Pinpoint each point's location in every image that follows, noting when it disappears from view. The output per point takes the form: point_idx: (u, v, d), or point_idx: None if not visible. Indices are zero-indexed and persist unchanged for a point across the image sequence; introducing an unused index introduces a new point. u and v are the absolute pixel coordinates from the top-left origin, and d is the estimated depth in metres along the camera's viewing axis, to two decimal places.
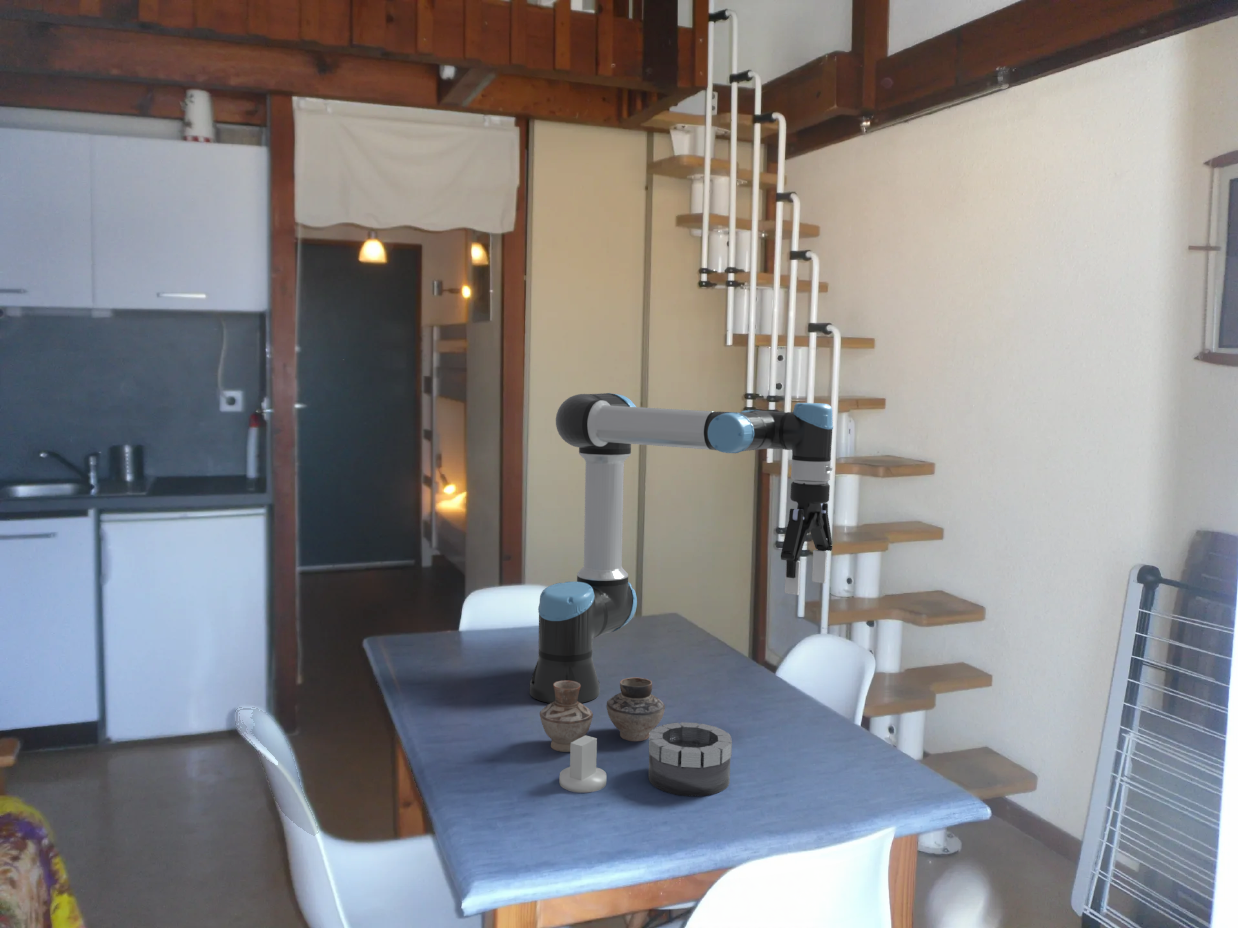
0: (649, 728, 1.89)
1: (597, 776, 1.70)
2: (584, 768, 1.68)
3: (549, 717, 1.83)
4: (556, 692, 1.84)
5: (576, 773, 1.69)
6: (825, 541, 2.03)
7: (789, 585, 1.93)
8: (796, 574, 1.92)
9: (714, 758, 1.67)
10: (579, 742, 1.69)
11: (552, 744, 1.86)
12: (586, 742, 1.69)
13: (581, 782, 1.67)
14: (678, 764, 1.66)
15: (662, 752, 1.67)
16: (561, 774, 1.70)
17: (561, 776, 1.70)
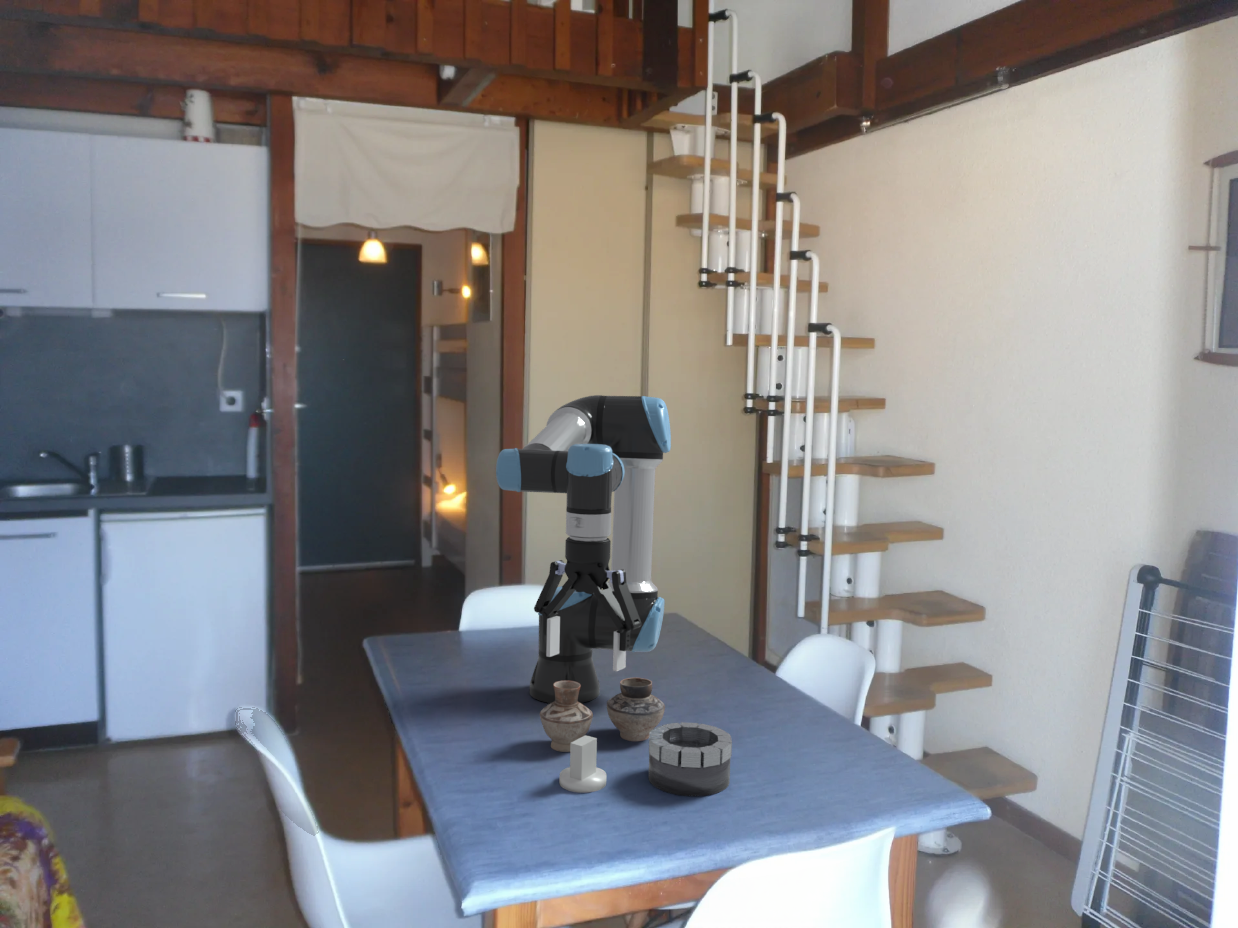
0: (649, 728, 1.89)
1: (597, 776, 1.70)
2: (584, 768, 1.68)
3: (549, 717, 1.83)
4: (556, 692, 1.84)
5: (576, 773, 1.68)
6: (614, 618, 1.63)
7: None
8: None
9: (714, 758, 1.67)
10: (579, 742, 1.69)
11: (552, 744, 1.86)
12: (586, 742, 1.69)
13: (581, 782, 1.67)
14: (678, 764, 1.66)
15: (662, 752, 1.67)
16: (561, 774, 1.70)
17: (561, 776, 1.70)
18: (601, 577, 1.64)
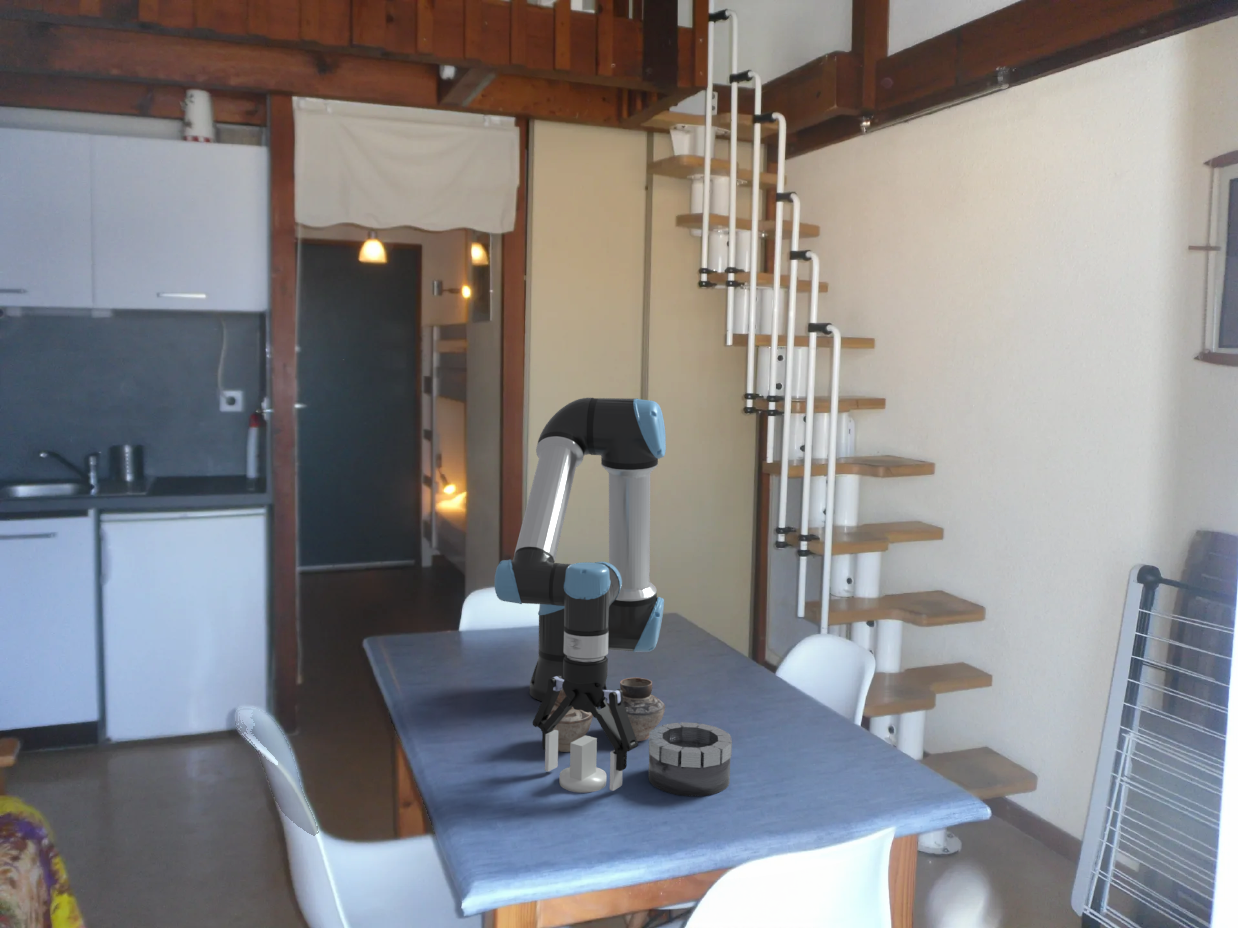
0: (649, 728, 1.89)
1: (597, 776, 1.70)
2: (584, 768, 1.68)
3: None
4: None
5: (576, 773, 1.68)
6: (611, 738, 1.65)
7: None
8: None
9: (714, 758, 1.67)
10: (579, 742, 1.69)
11: None
12: (586, 742, 1.69)
13: (581, 782, 1.67)
14: (678, 764, 1.66)
15: (662, 752, 1.67)
16: (561, 774, 1.70)
17: (561, 776, 1.70)
18: (598, 697, 1.66)
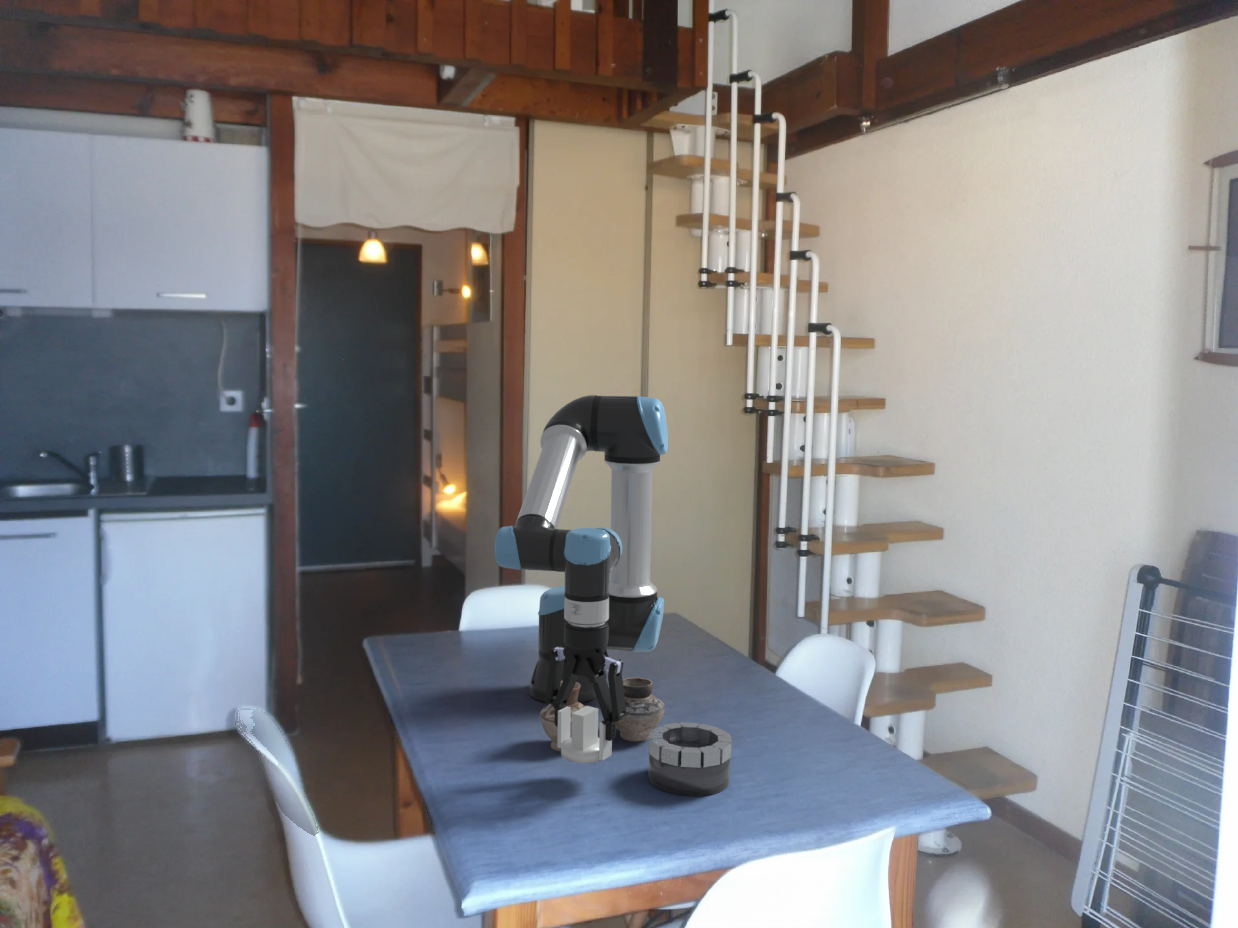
0: (649, 728, 1.89)
1: (598, 746, 1.70)
2: (585, 738, 1.69)
3: (549, 717, 1.83)
4: None
5: (577, 743, 1.69)
6: (602, 708, 1.66)
7: None
8: None
9: (714, 758, 1.67)
10: (580, 713, 1.69)
11: (552, 744, 1.86)
12: (587, 712, 1.69)
13: (582, 752, 1.67)
14: (678, 764, 1.66)
15: (662, 752, 1.67)
16: (563, 744, 1.71)
17: (563, 746, 1.70)
18: (599, 663, 1.66)
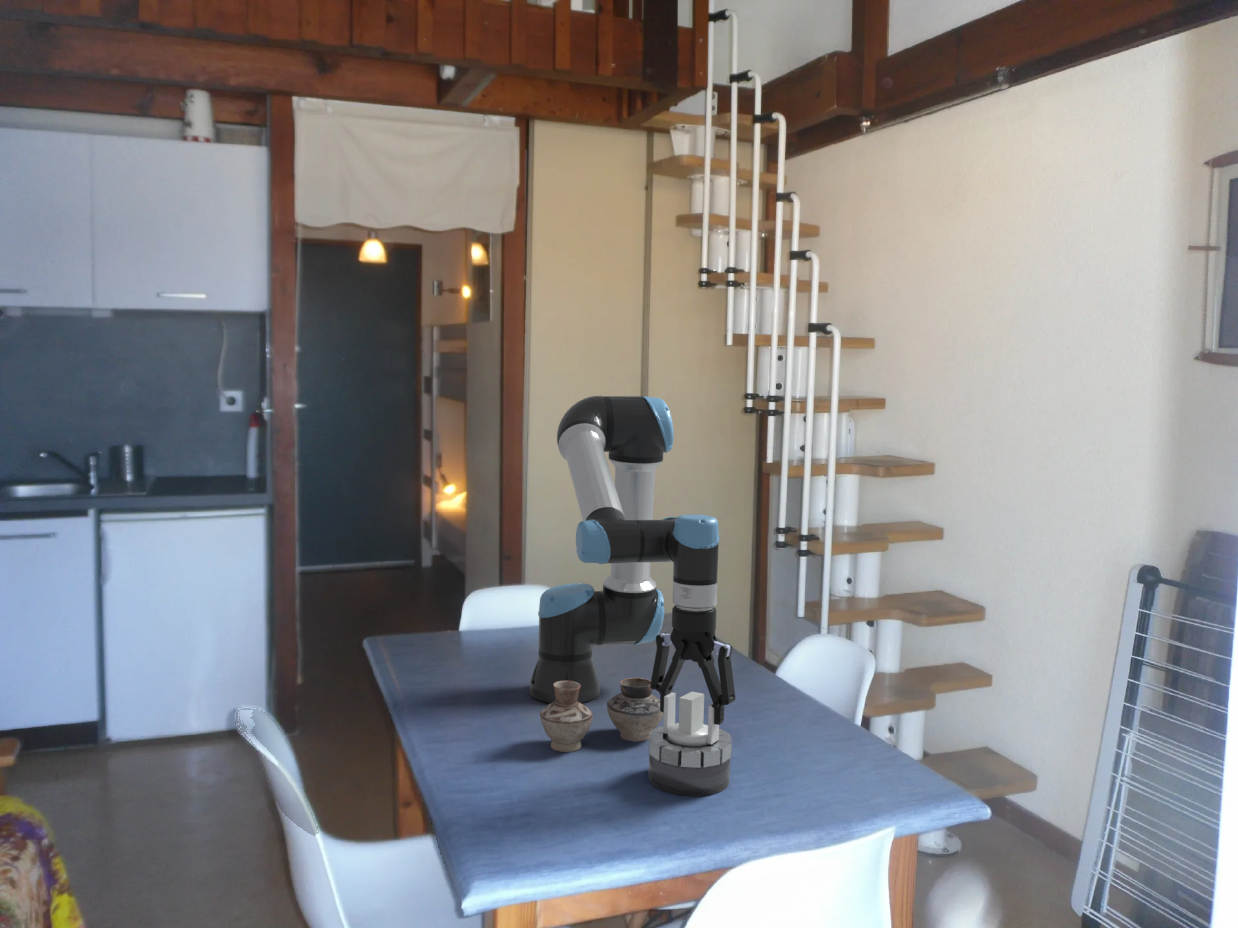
0: (649, 728, 1.89)
1: (705, 731, 1.71)
2: (693, 723, 1.70)
3: (549, 717, 1.83)
4: (556, 692, 1.84)
5: (685, 727, 1.70)
6: (711, 691, 1.68)
7: None
8: None
9: (714, 758, 1.67)
10: (688, 697, 1.71)
11: (552, 744, 1.86)
12: (695, 697, 1.71)
13: (691, 736, 1.69)
14: (678, 764, 1.66)
15: (662, 752, 1.67)
16: (669, 729, 1.72)
17: (670, 731, 1.71)
18: (708, 646, 1.68)
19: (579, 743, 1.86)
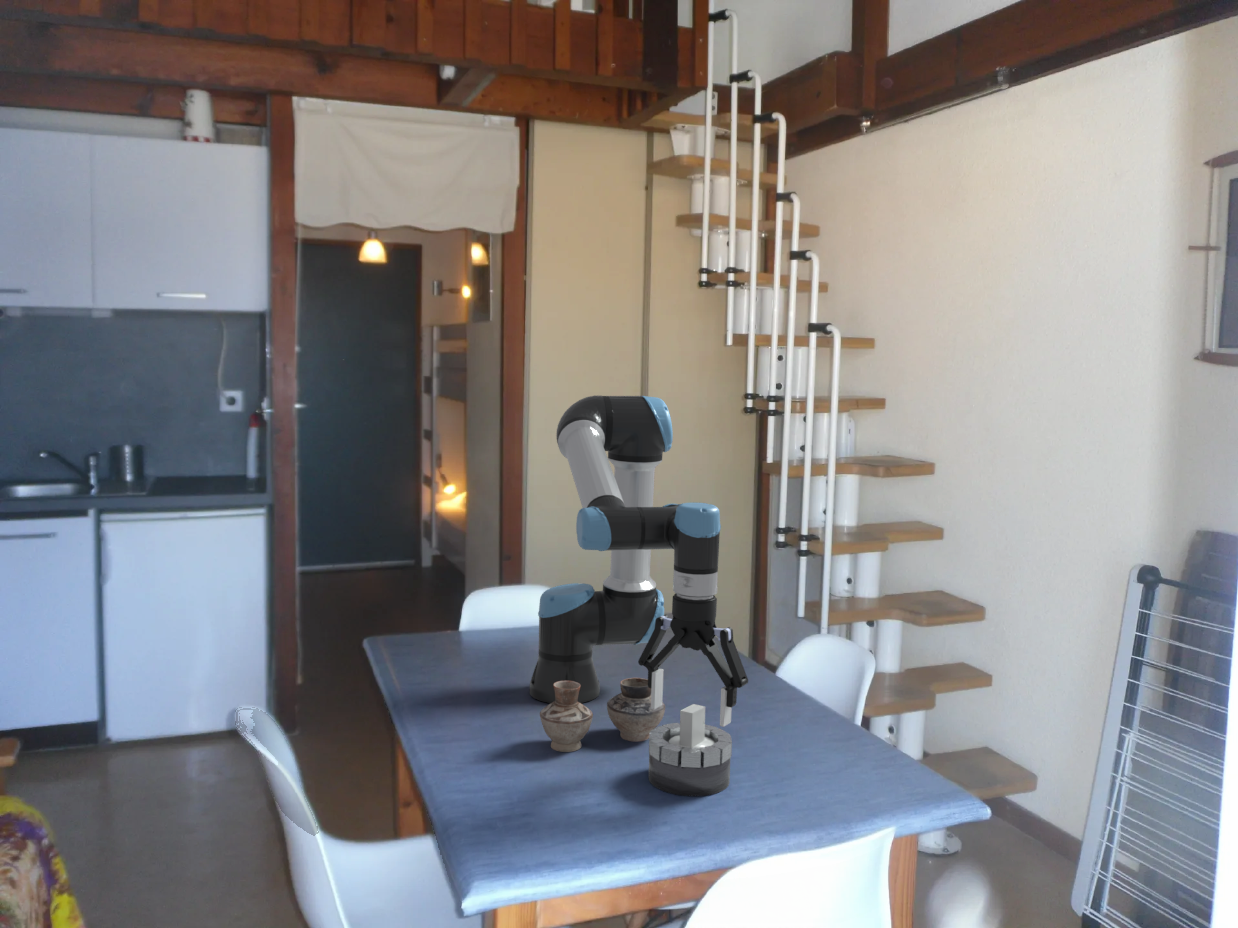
0: (649, 728, 1.89)
1: (706, 744, 1.72)
2: (694, 736, 1.70)
3: (549, 717, 1.83)
4: (556, 692, 1.84)
5: (686, 740, 1.71)
6: (722, 675, 1.67)
7: None
8: None
9: (714, 758, 1.67)
10: (689, 710, 1.71)
11: (552, 744, 1.86)
12: (695, 710, 1.71)
13: None
14: (678, 764, 1.66)
15: (662, 752, 1.67)
16: (670, 742, 1.73)
17: (671, 743, 1.72)
18: (709, 635, 1.68)
19: (579, 743, 1.86)
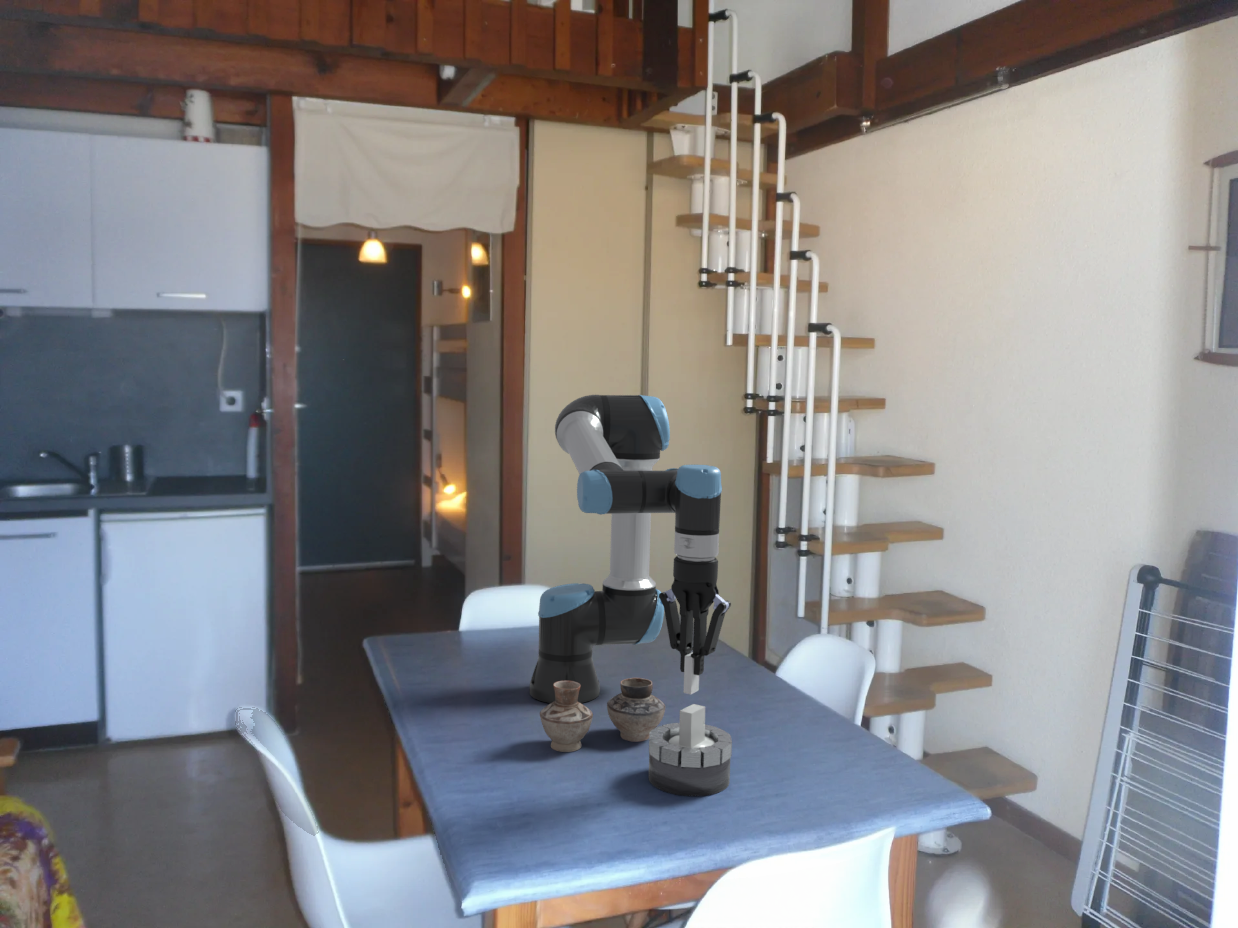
0: (649, 728, 1.89)
1: (706, 744, 1.72)
2: (693, 736, 1.70)
3: (549, 717, 1.83)
4: (556, 692, 1.84)
5: (685, 740, 1.71)
6: (695, 642, 1.69)
7: None
8: None
9: (714, 758, 1.67)
10: (688, 710, 1.71)
11: (552, 744, 1.86)
12: (695, 710, 1.71)
13: None
14: (678, 764, 1.66)
15: (662, 752, 1.67)
16: (670, 742, 1.73)
17: (670, 743, 1.72)
18: (708, 597, 1.68)
19: (579, 743, 1.86)
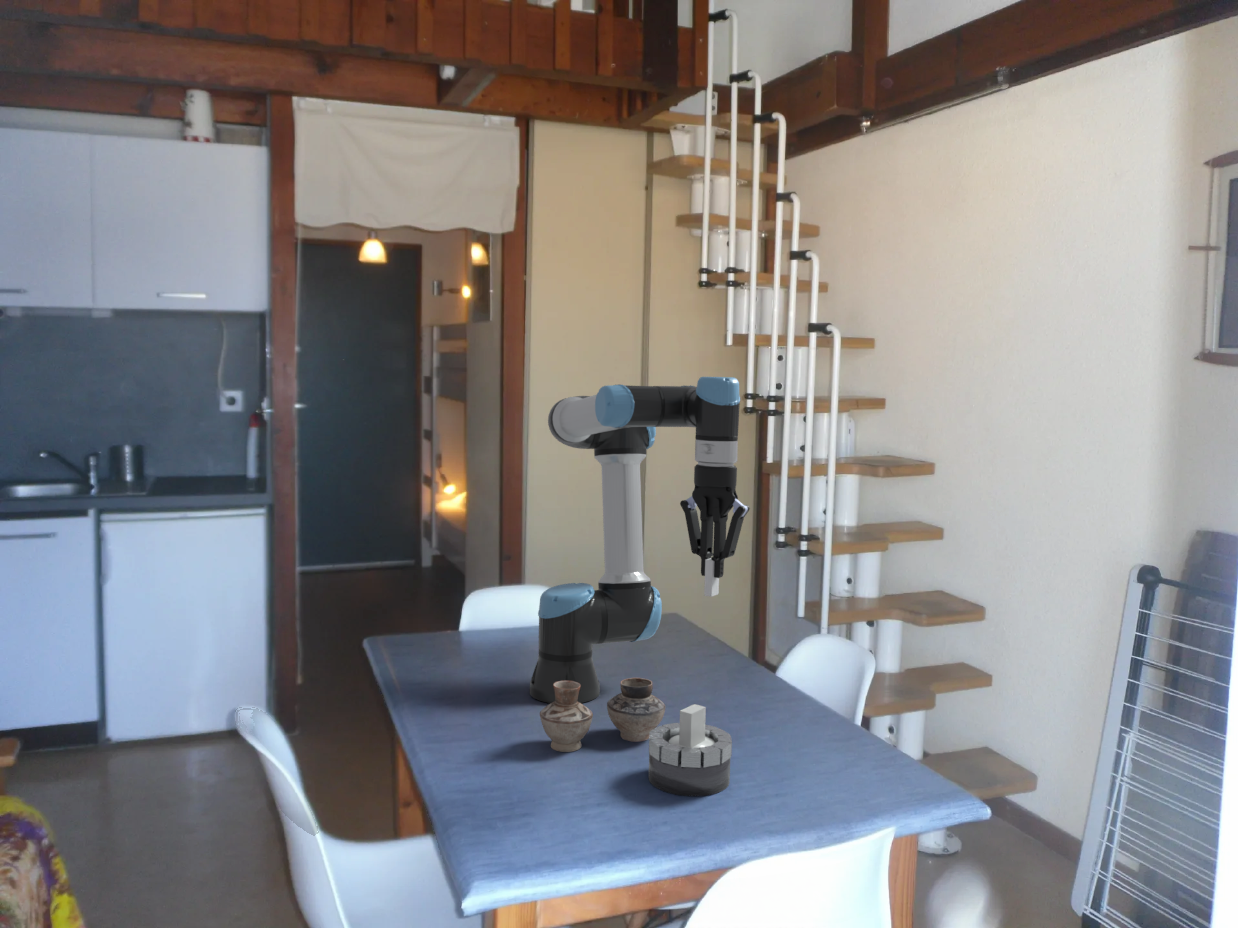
0: (649, 728, 1.89)
1: (706, 744, 1.72)
2: (693, 736, 1.70)
3: (549, 717, 1.83)
4: (556, 692, 1.84)
5: (685, 740, 1.71)
6: (715, 546, 1.77)
7: None
8: None
9: (714, 758, 1.67)
10: (688, 710, 1.71)
11: (552, 744, 1.86)
12: (695, 710, 1.71)
13: None
14: (678, 764, 1.66)
15: (662, 752, 1.67)
16: (670, 741, 1.73)
17: (670, 743, 1.72)
18: (727, 502, 1.75)
19: (579, 743, 1.86)
